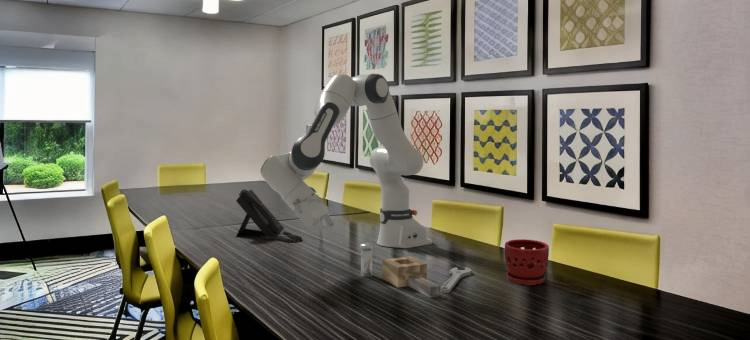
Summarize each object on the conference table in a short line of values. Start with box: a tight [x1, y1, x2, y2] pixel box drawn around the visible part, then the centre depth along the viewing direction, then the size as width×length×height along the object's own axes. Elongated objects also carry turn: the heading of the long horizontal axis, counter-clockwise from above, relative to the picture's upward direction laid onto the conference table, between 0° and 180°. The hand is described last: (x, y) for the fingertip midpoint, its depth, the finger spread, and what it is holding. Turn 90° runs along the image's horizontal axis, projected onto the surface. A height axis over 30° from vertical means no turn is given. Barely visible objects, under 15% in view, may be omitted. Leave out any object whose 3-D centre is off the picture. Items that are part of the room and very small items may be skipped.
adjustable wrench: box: [439, 267, 472, 294], centre depth 166 cm, size 25×6×2 cm, turn 154°
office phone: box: [235, 189, 303, 243], centre depth 230 cm, size 29×28×20 cm
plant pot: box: [504, 239, 550, 286], centre depth 166 cm, size 13×13×12 cm
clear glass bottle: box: [359, 242, 375, 278], centre depth 170 cm, size 4×4×10 cm
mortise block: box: [381, 256, 440, 299], centre depth 160 cm, size 10×22×6 cm, turn 27°
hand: (330, 229), depth 171 cm, fingers open, 8 cm apart
